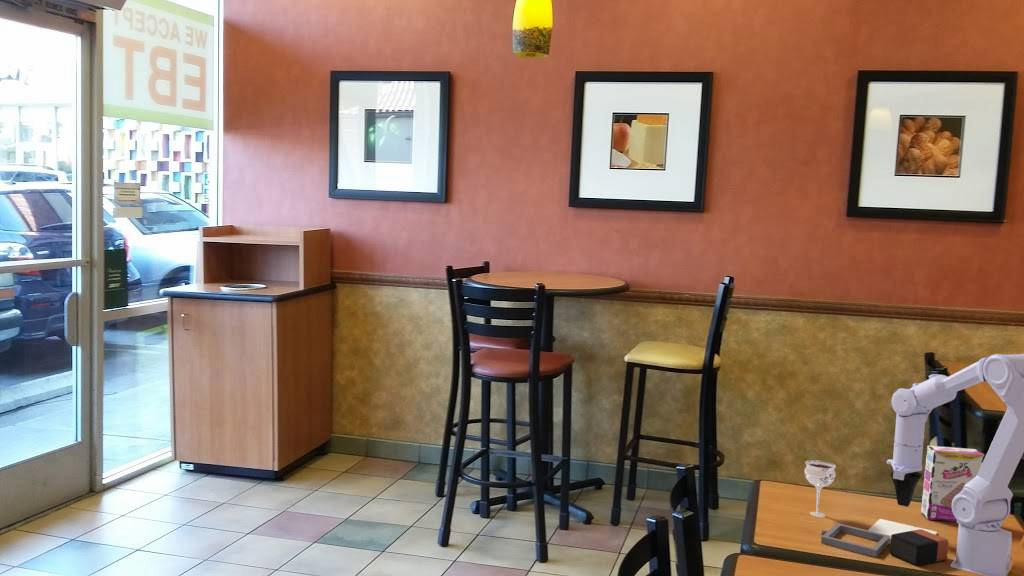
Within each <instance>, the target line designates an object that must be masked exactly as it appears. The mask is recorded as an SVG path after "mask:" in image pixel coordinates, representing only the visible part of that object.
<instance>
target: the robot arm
mask: <svg viewBox="0 0 1024 576" xmlns="http://www.w3.org/2000/svg"><path fill="white" fill-rule="evenodd" d="M981 383H988V385H989V386H990V387H991V388H992V390H993V391H994V392H995V394H996V395H997V396H998V397H999V398H1000V399H1001V401H1002V402H1003V403H1005V406H1006V410H1005V413H1004V415H1003V416H1002V419H1001V421H1000V424H999V426H998V429H997V430H996V432H995V435H994V437H993V440H992V441H991V443H990V446H989V449H988V451H986V452H987V453H986V454H985V456H984V461H983V463H982V465H981V468H980V470H979V472H978V474H977V476H976V477H975V478H973V479H972V480H971V481H969V482H968V483H967V484H965V485H964V487H963V489H962V491H961V492H960V493H959V494H957V495H956V496H955V497H954V498H953V500H952V512H953V514H954V516H955V518H956V519H957V522H956V523H957V524H958V529H957V530H958V531H957V539H956V540H957V541H956V551H955V552H956V553H955V558H954V559H953V561H952V562H951V564H950V565H949V566H950V567H951V568H954V569H958V570H961V571H966V572H970V573H973V574H978V575H981V576H1007V575H1008V574H1009V571H1010V569H1011V563H1012V561H1011V553H1012V543H1013V542H1012V541H1013V533H1012V532H1011V531H1009V530H1006V529H1003V528H1001V527H1003V521H1005V520H1006V519H1008V517H1009V516H1010V513H1011V501H1012V498H1013V496H1014V493H1013V492H1012V490H1010V488H1009V487H1008V486H1009V484H1010V482H1011V479H1012V478H1013V476H1014V474H1015V471H1016V469H1017V467H1018V464H1019V462H1020V461H1021V458H1022V457H1023V455H1024V353H1019V354H1016V353H1015V354H1014V353H1013V354H999V353H995V354H992V355H990V356H988V357H982V358H980V359H979V360H978V361H976V362H975V363H972V364H970V365H968V366H966V367H964V368H962V369H960V370H959V371H957V372H955V373H952V374H951V375H948V376H947V375H945V374H938V373H932V374H930V375H928V379H926V380H924V381H922V382H914V383H913V384H912V387H911V388H898V389H897V390H896V391H894V393H893V394H892V396H891V407H892V409H893V411H894V412H895V413H896V416H895V429H894V430H895V431H894V440H893V441H894V442H893V452H892V453H893V456H892V459H887V460H886V464H887V465H890V466H891V467H892V470H891V471H890V478H891V480H892V482H893V485H894V490H895V497H896V502H897V505H898V506H902V507H905V508H907V507H909V506H910V505H911V502H912V499H913V496H914V492H915V489H916V487H917V484H918V483H919V481H920V479H921V478H922V476H923V474H922V473H921V471H922V470H923V465H922V463H923V452H924V440H925V439H924V438H925V427H926V423H927V422H928V417H929V414H930V413H932V410H933V409H935V408H937V407H940V406H942V405H944V404H947V403H949V402H952V401H953V400H955V398H956V397H957V394H958V392H959V391H962V390H965V389H967V388H971V387H973V386H975V385H977V384H981Z"/></svg>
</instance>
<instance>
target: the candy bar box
mask: <svg viewBox="0 0 1024 576" xmlns="http://www.w3.org/2000/svg"><path fill="white" fill-rule="evenodd" d="M925 456H926V457H925V467H924V475H923V476H924V478H923V488H922V497H921V507H920V508H921V509H920V514H921V515H922V516H924V518H926V519H927V520H932V521H941V522H942V521H943V522H954V523H957V519H956V518H955V516H954V514H953V512H952V500H953V498H954V497H955V496H956V495H957V494H959V493H960V492H961V491H962V489H963V487H964V485H965V484H967V483H968V482H969V481H971V480H972V479H973V478H975V477H976V476H977V474H978V472H979V470H980V468H981V465H982V463H983V461H984V459H985V453H983V452H981V451H979V450H977V449H975V448H966V447H965V448H963V447H954V446H953V447H952V446H951V447H950V446H941V445H939V446H938V445H927V447H926V455H925Z"/></svg>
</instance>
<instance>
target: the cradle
mask: <svg viewBox="0 0 1024 576" xmlns="http://www.w3.org/2000/svg"><path fill="white" fill-rule="evenodd" d="M839 533H844V534H848V535H851V536H855V537H859V538H862V539H867V540H871V541H875V542H877V543H876V544H875V545H874V546H873V547H872V546H868V545H863V544H859V543H856V542H851V541H847V540H844V539H839V538H835V537H837V535H838V534H839ZM821 535H822V536H821V539H820V543H821V544H823V545H827V546H831V547H833V548H837V549H842V550H844V551H849V552H853V553H855V554H856V553H857V554H861V555H865V556H869V557H873V558H877V557H879V555H880V554H881V553H882V552H883V551H884V550H885V549H886V548H887V547H888V546H889V544H891V540H890V538H891V536H889V535H885V534H881V533H877V532H872V531H868V530H867V529H864V528H859V527H855V526H850V525H845V524H843V523H836V524H835V525H834V526H832V527H831V528H830V529H829V530H828V531H827V530H821Z"/></svg>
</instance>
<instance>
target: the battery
mask: <svg viewBox="0 0 1024 576" xmlns="http://www.w3.org/2000/svg"><path fill="white" fill-rule="evenodd" d="M889 544H890V545H889V554H890V555H891V556H893V557H896V558H898V559H900V560H903V561H904V562H907V563H909V564H912V565H914V566H922V565H927V564H932V563H935V562H937V563H938V562H940V561H941V562H942V561H946V560H947V559H948V551H949V540H948V539H947V538H945V537H942V536H940V535H937V534H936V535H935V534H932V533H930V532H927V531H925V530H922V529H918V530H913V531H908V532H902V533H897V534H892V535H891V540H890V543H889Z"/></svg>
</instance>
